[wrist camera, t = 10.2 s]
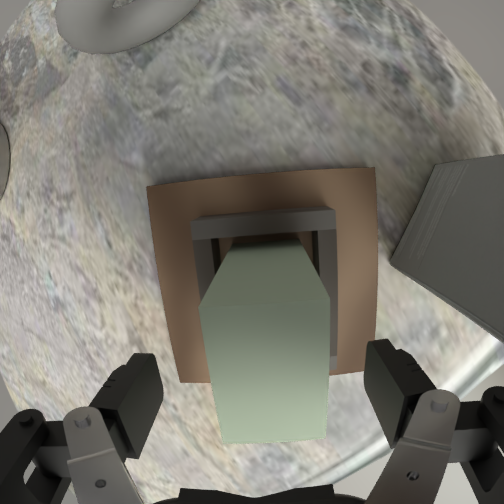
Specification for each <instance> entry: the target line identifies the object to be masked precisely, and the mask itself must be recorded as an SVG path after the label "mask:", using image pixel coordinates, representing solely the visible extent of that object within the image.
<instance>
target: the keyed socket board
mask: <svg viewBox="0 0 504 504" xmlns="http://www.w3.org/2000/svg"><path fill="white" fill-rule="evenodd" d="M147 197H148V205H149V214H150V222H151V229H152V237H153V244H154V251H155V257H156V264H157V270H158V276H159V282H160V288H161V294H162V299H163V305H164V310H165V315H166V320H167V325H168V330H169V335H170V340H171V345H172V349H173V354H174V358H175V363H176V367H177V371H178V375H179V380H180V383H211V380H210V375H209V369H208V364H207V358H206V352H205V346H204V340H203V334H202V328H201V322H200V315H199V309H198V307H199V305H200V303H201V301H202V299H203V297H204V296H205V294H206V292H207V290H208V288H209V286H210V284H211V282H212V281H213V279H214V277H215V275H216V273H217V271H218V269H219V268H220V266H221V264H222V262H223V260H224V258H225V256H226V255H227V253H228V251H229V249H230V247H231V245H232V244H235V243H248V242H261V241H275V240H289V239H299V240H300V242H301V243H302V245H303V247H304V249H305V251H306V253H307V255H308V257H309V258H310V260H311V262H312V264H313V266H314V268H315V270H316V272H317V274H318V276H319V278H320V280H321V282H322V283H323V285H324V287H325V289H326V291H327V293H328V295H329V297H330V362H329V376H330V375H339V374H347V373H354V372H361V371H364V368H365V358H366V347H367V343H368V341H374V340H375V328H376V311H377V286H378V219H377V194H376V177H375V167H372V168H339V169H317V170H300V171H285V172H271V173H259V174H248V175H237V176H227V177H218V178H209V179H200V180H192V181H184V182H176V183H168V184H161V185H154V186H147Z"/></svg>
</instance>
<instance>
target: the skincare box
mask: <svg viewBox="0 0 504 504" xmlns="http://www.w3.org/2000/svg"><path fill="white" fill-rule="evenodd" d="M390 265H391V266H392V267H394V268H395V269H397V270H398V271H400V272H402V273H403V274H405V275H406V276H408V277H409V278H411V279H412V280H414V281H415V282H417V283H418V284H420V285H421V286H423V287H424V288H426V289H427V290H429V291H430V292H432V293H433V294H434V295H436V296H437V297H439V298H440V299H442V300H443V301H445V302H446V303H447V304H449V305H450V306H452V307H453V308H455V309H456V310H458V311H459V312H461V313H462V314H463V315H465V316H466V317H468V318H469V319H470V320H472V321H473V322H475V323H476V324H477V325H479V326H480V327H481V328H483V329H484V330H486V331H487V332H488V333H490V334H491V335H492V336H494V337H495V338H497V339H498V340H499V341H501V342H502V343H503V344H504V154H502V155H495V156H488V157H480V158H473V159H467V160H460V161H454V162H448V163H441V164H436V165H435V167H434V169H433V171H432V174H431V176H430V179H429V181H428V183H427V186H426V188H425V190H424V192H423V195H422V197H421V199H420V201H419V204H418V206H417V208H416V210H415V212H414V214H413V216H412V218H411V220H410V222H409V224H408V226H407V228H406V231H405V233H404V235H403V237H402V239H401V241H400V243H399V244H398V246H397V248H396V250H395V252H394V254H393V256H392V258H391V260H390Z"/></svg>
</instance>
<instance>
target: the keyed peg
mask: <svg viewBox="0 0 504 504" xmlns="http://www.w3.org/2000/svg"><path fill="white" fill-rule="evenodd" d="M198 309H199V315H200V322H201V328H202V334H203V340H204V346H205V352H206V358H207V364H208V369H209V375H210V380H211V386H212V391H213V396H214V401H215V406H216V411H217V416H218V421H219V426H220V431H221V435H222V440H223V444H249V443H277V442H292V441H304V440H315V439H324V438H326V424H327V408H328V389H329V362H330V297H329V295H328V293H327V291H326V289H325V287H324V285H323V283H322V282H321V280H320V278H319V276H318V274H317V272H316V270H315V268H314V266H313V264H312V262H311V260H310V258H309V257H308V255H307V253H306V251H305V249H304V247H303V245H302V243H301V242H300V240H299V239H289V240H275V241H261V242H248V243H235V244H232V245H231V247H230V249H229V251H228V253H227V255H226V256H225V258H224V260H223V262H222V264H221V266H220V268H219V269H218V271H217V273H216V275H215V277H214V279H213V281H212V282H211V284H210V286H209V288H208V290H207V292H206V294H205V296H204V297H203V299H202V301H201V303H200V305H199V307H198Z"/></svg>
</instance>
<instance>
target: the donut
mask: <svg viewBox="0 0 504 504" xmlns="http://www.w3.org/2000/svg"><path fill="white" fill-rule="evenodd" d="M199 1H200V0H135V1H133V2H132V3H130V4H127V5H124V6H122V7H116V8H113V7H112V6H113V4H114V2H115V0H57V4H56V8H55V18H56V23H57V27H58V32H59V34H60V35H61V37H62V38H63V39H64V40H65V41H66V42H67V43H68V44H69V45H70V46H71V47H72V48H74V49H77V50H80V51H83V52H86V53H89V54H111V53H117V52H120V51H124V50H128V49H132V48H134V47H136V46H139V45H141V44H144V43H146V42H148V41H150V40H152V39H154V38H155V37H157V36H159V35H161V34H162V33H164V32H166V31H167V30H168V29H170V28H171V27H172V26H174V25H175V24H177V23H178V22H179V21H181V20H182V19H183V18H184V17H185V16H186V15H187V14H188V13H189V12H190V11H191V10H192V9H193V8H194V7H195V6H196V5H197V3H198V2H199Z"/></svg>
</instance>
